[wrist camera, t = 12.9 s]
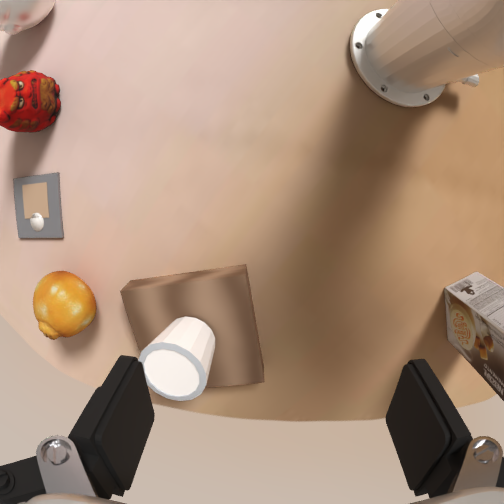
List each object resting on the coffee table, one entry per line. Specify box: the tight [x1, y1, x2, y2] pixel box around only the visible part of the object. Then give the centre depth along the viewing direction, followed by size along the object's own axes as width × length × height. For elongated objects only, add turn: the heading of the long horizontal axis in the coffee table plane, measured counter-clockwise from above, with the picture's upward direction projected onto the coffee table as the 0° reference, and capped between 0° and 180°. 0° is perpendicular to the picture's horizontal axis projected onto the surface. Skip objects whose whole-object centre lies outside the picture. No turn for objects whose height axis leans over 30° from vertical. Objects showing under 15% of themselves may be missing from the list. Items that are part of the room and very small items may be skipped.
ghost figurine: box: [0, 0, 56, 35], centre depth 21 cm, size 9×10×10 cm
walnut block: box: [120, 264, 264, 388], centre depth 37 cm, size 14×14×4 cm
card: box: [13, 173, 64, 238], centre depth 34 cm, size 8×8×1 cm
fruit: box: [33, 271, 96, 340], centre depth 33 cm, size 8×8×8 cm
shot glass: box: [138, 316, 215, 401], centre depth 31 cm, size 7×7×7 cm
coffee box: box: [444, 272, 504, 401], centre depth 30 cm, size 9×6×16 cm
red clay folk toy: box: [0, 70, 61, 132], centre depth 23 cm, size 8×7×15 cm
